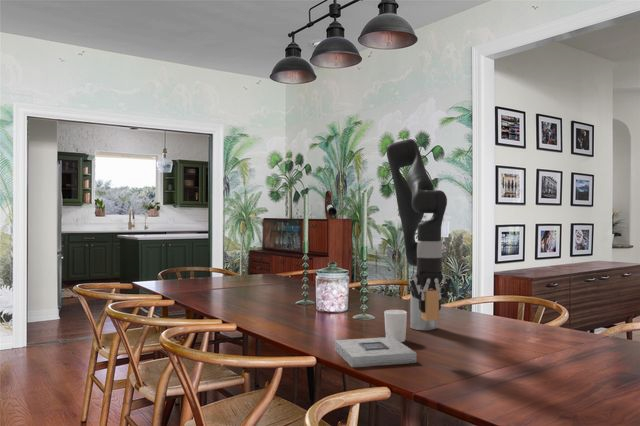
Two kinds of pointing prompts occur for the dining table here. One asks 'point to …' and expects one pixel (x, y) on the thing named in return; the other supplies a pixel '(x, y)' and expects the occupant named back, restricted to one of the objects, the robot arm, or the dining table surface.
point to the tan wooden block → (431, 305)
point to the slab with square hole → (374, 352)
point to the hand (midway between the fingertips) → (429, 311)
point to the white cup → (395, 324)
